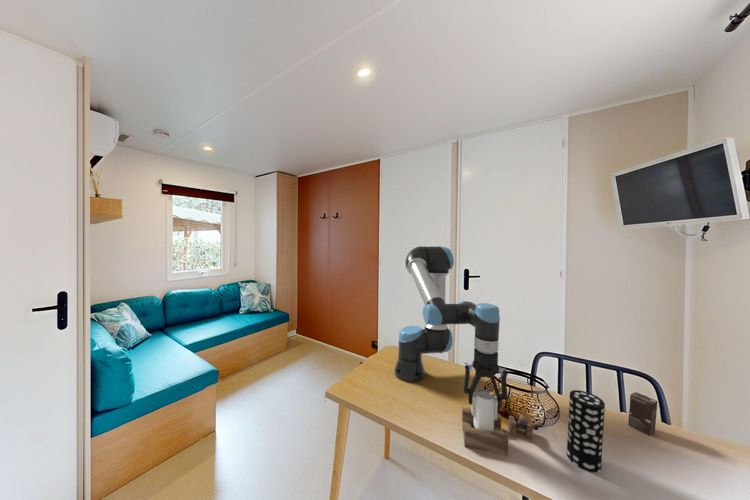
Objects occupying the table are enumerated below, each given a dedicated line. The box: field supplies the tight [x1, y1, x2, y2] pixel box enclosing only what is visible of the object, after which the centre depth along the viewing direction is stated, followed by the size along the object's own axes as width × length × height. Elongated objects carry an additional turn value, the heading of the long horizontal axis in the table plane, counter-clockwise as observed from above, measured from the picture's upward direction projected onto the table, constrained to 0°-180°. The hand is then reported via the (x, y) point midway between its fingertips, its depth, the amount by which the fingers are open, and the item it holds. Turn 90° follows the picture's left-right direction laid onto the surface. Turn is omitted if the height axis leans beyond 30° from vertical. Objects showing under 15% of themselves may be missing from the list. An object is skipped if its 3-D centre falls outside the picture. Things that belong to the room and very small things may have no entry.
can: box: [473, 388, 495, 432], centre depth 88 cm, size 6×6×12 cm
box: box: [627, 391, 658, 437], centre depth 93 cm, size 6×4×12 cm
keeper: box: [516, 412, 532, 430], centre depth 87 cm, size 11×3×2 cm
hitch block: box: [461, 406, 533, 457], centre depth 87 cm, size 14×23×5 cm, turn 75°
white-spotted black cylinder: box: [566, 389, 606, 473], centre depth 79 cm, size 8×8×20 cm
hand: (483, 414), depth 88 cm, fingers closed on can, 6 cm apart
